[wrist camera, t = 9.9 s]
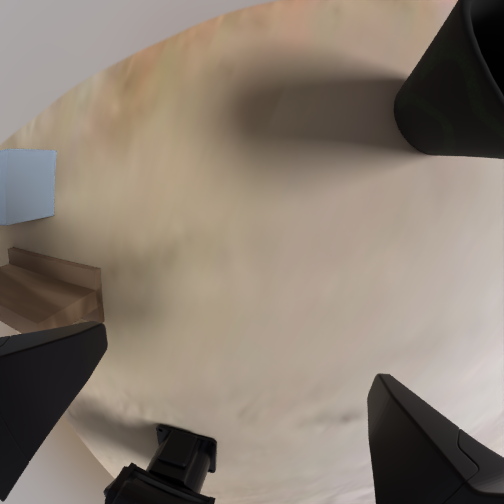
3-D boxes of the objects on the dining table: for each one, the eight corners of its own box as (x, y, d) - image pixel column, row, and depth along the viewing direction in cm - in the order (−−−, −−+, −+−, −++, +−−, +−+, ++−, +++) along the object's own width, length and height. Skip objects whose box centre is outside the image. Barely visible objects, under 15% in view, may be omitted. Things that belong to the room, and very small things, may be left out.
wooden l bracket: (104, 321, 23) (47, 363, 16) (18, 289, 25) (-32, 312, 18) (100, 268, 22) (33, 300, 15) (13, 247, 24) (-41, 264, 16)
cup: (425, 191, 17) (549, 207, 5) (357, 101, 17) (421, 5, 5) (485, 135, 15) (598, 116, 4) (425, 53, 15) (505, -28, 3)
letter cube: (54, 216, 22) (6, 226, 16) (21, 213, 23) (-22, 221, 17) (57, 150, 21) (8, 148, 15) (23, 155, 22) (-21, 155, 16)
